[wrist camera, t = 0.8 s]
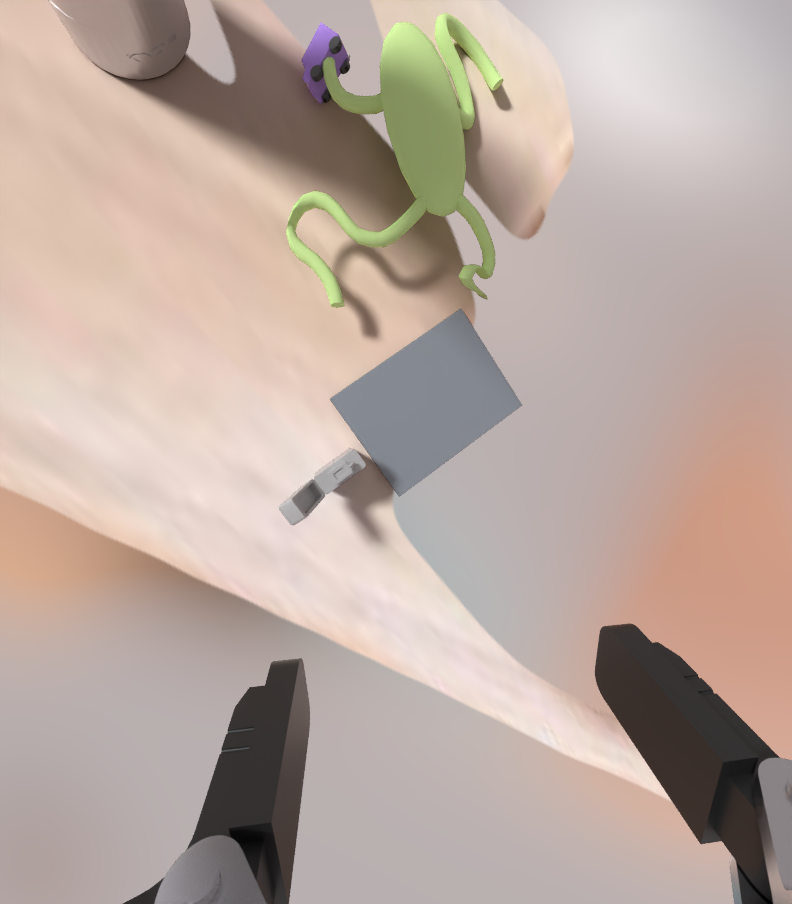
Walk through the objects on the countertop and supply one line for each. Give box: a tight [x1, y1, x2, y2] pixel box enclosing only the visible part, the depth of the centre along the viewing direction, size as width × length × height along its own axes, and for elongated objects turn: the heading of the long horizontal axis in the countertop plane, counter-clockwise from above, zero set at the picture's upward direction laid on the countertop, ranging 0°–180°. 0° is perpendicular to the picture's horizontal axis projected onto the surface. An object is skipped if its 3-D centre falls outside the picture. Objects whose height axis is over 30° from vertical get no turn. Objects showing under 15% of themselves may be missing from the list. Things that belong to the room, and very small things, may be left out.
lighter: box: [279, 448, 366, 525], centre depth 33 cm, size 7×2×8 cm, turn 126°
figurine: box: [286, 13, 503, 308], centre depth 34 cm, size 18×27×6 cm
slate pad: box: [330, 309, 522, 496], centre depth 38 cm, size 11×15×1 cm
